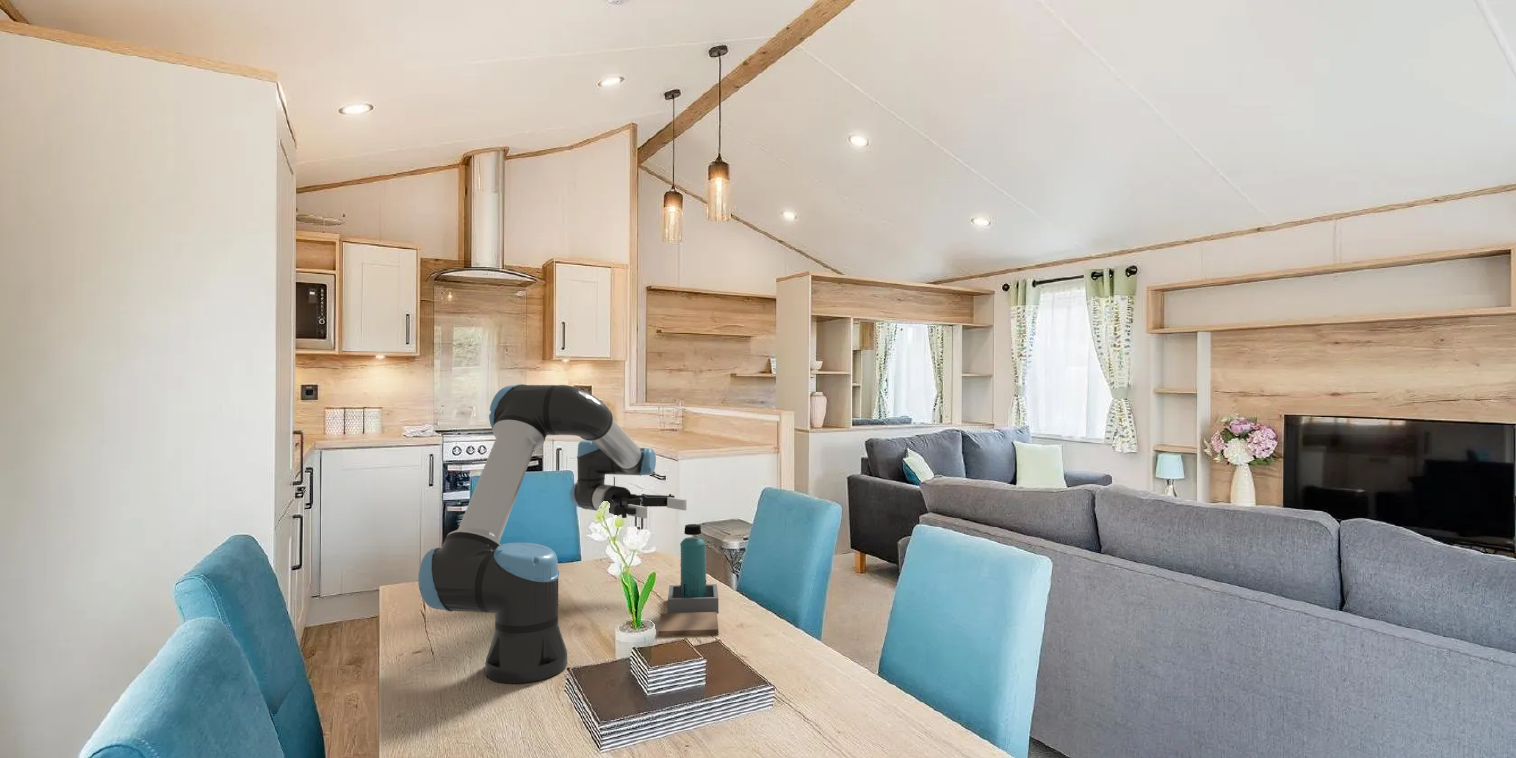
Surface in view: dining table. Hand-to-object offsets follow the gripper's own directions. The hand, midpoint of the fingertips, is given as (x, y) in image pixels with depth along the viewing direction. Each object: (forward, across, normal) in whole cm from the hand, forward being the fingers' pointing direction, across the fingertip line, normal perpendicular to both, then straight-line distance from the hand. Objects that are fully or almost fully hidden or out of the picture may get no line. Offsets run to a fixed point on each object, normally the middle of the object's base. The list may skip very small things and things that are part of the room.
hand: (666, 508), depth 186 cm
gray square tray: (+10, 0, -23) cm, 25 cm away
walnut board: (+20, +12, -23) cm, 32 cm away
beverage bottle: (+10, 0, -23) cm, 25 cm away
